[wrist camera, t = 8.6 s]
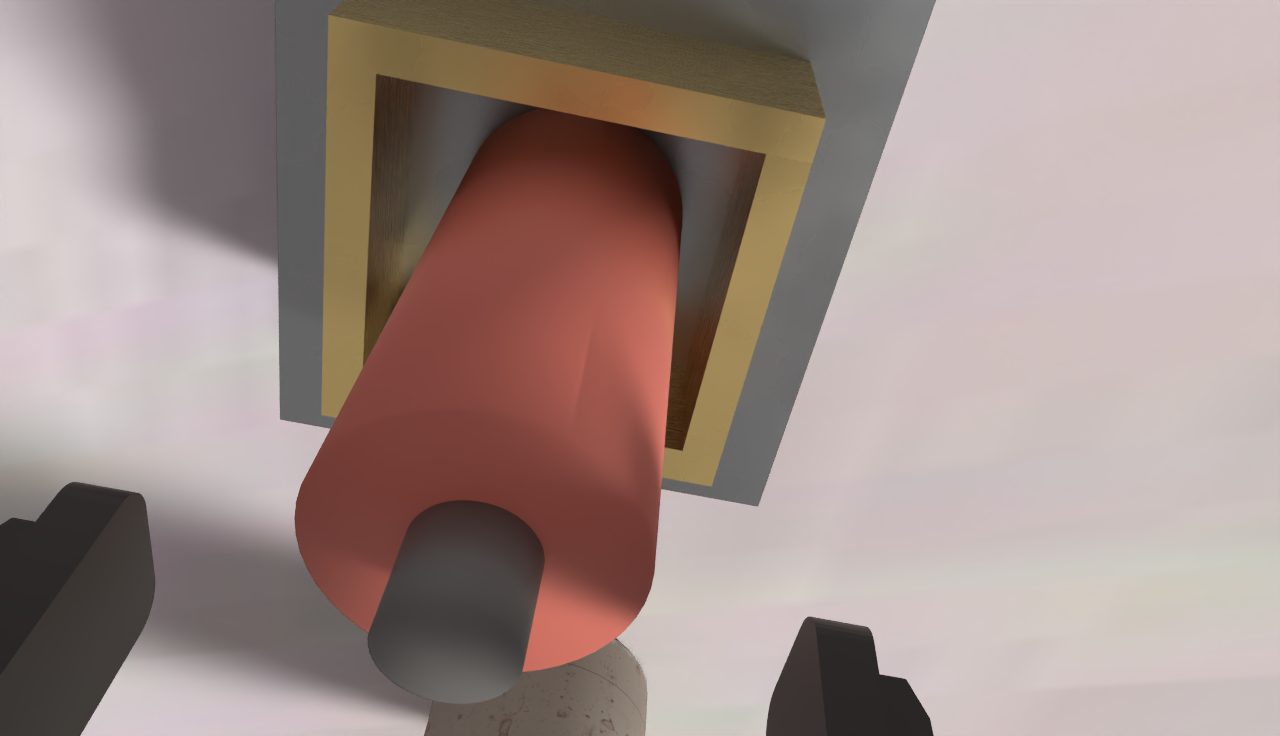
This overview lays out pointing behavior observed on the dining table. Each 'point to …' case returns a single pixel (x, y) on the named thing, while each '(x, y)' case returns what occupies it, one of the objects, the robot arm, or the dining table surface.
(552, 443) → the oil can
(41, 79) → the dining table surface
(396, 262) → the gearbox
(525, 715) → the thermos bottle
